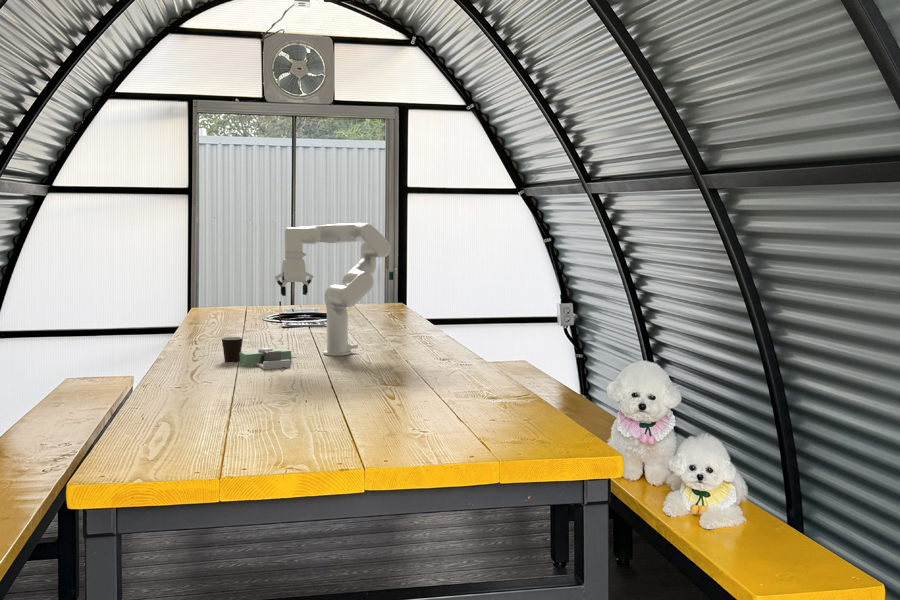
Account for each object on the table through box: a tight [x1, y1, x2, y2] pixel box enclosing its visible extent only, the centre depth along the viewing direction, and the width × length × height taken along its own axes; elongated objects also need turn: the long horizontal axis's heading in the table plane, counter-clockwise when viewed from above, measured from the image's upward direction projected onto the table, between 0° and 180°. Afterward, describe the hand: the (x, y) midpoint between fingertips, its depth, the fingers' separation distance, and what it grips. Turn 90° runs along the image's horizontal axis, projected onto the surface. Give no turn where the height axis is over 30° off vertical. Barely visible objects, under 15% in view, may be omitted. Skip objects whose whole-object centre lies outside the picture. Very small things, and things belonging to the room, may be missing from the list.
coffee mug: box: [221, 336, 243, 363], centre depth 349 cm, size 12×9×10 cm
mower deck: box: [239, 347, 292, 370], centre depth 340 cm, size 20×18×6 cm
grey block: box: [264, 350, 281, 362], centre depth 337 cm, size 5×7×7 cm
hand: (294, 295), depth 350 cm, fingers open, 9 cm apart
